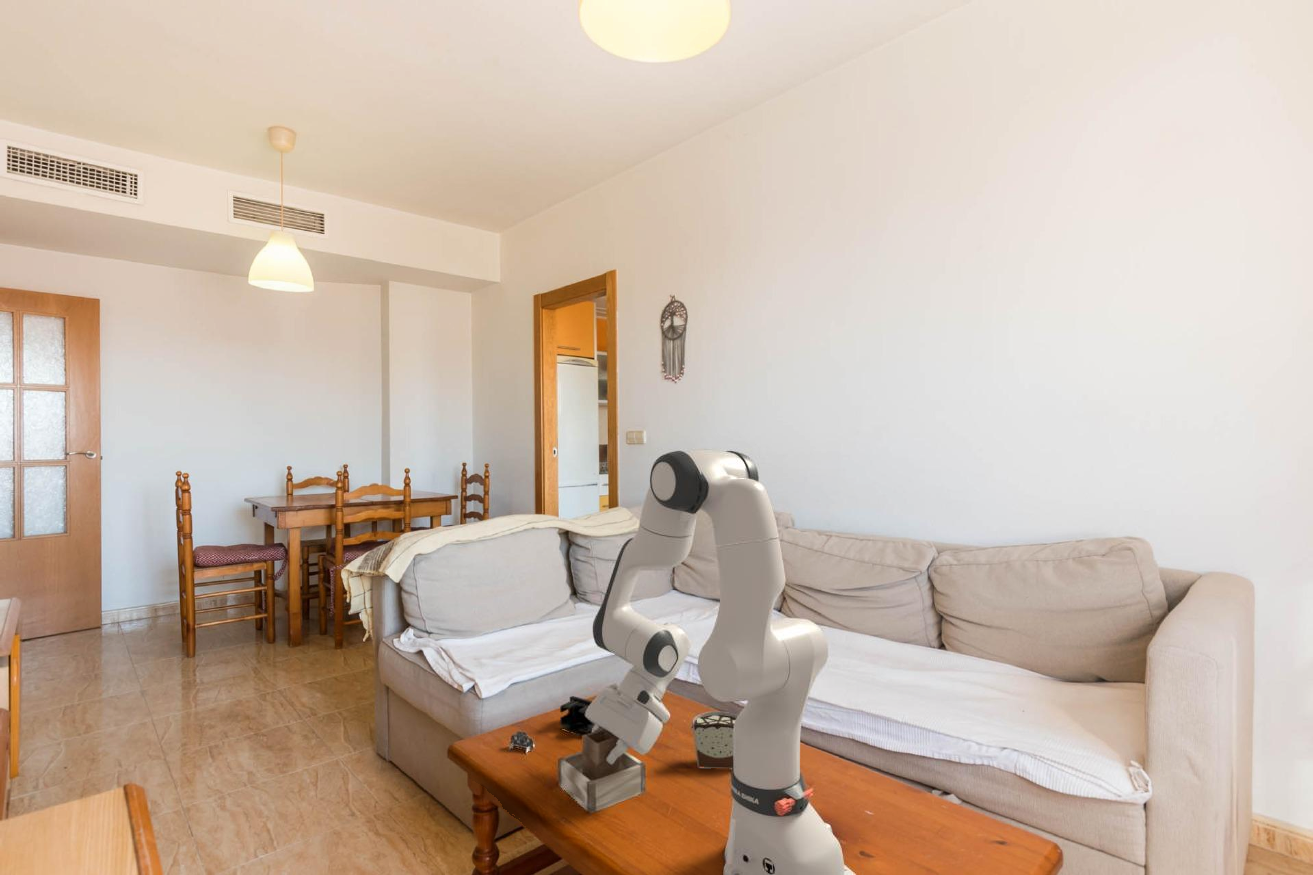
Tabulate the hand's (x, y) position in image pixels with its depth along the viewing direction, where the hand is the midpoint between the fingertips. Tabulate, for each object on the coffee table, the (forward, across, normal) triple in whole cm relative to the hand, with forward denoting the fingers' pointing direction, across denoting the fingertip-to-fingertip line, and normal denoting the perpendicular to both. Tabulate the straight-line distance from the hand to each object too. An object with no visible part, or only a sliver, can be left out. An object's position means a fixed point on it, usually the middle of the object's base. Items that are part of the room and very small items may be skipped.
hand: (598, 755), depth 134 cm
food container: (-14, +6, +24) cm, 29 cm away
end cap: (-3, -27, +14) cm, 30 cm away
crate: (+4, 0, +5) cm, 7 cm away
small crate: (+3, 0, +4) cm, 4 cm away
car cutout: (+7, -23, +4) cm, 24 cm away
